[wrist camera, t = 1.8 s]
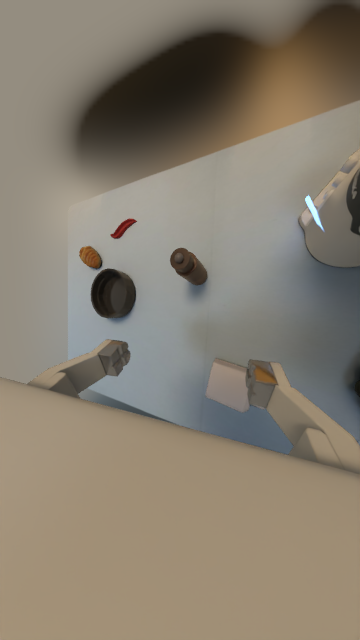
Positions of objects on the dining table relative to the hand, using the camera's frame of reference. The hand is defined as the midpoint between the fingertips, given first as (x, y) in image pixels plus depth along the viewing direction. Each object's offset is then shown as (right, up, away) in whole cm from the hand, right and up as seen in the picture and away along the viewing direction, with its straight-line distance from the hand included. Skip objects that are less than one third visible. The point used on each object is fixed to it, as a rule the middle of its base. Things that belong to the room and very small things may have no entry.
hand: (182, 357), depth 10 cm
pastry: (-34, +26, +47) cm, 64 cm away
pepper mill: (+5, +15, +31) cm, 35 cm away
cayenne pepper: (-20, +34, +41) cm, 57 cm away
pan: (-22, +11, +43) cm, 49 cm away
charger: (+15, -14, +27) cm, 34 cm away
